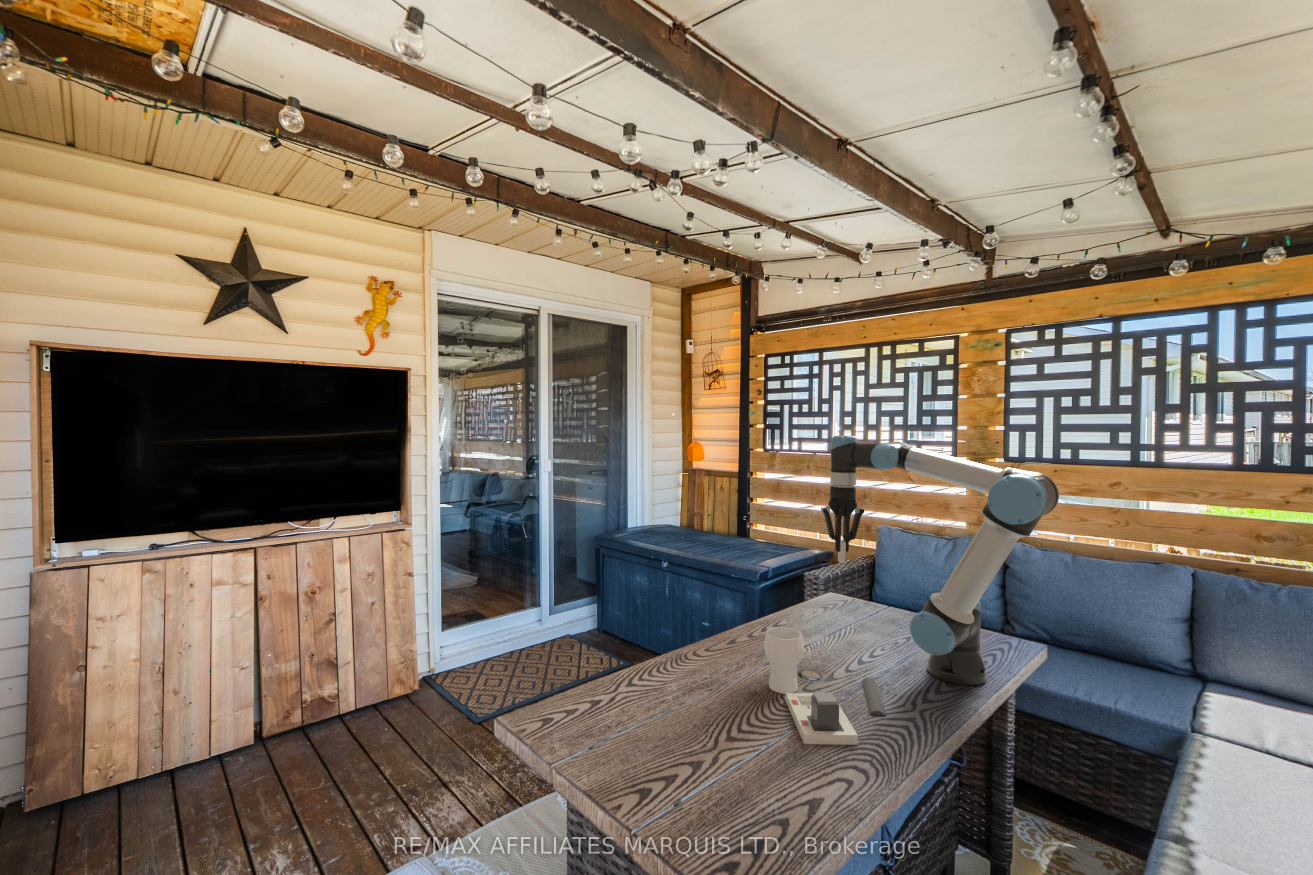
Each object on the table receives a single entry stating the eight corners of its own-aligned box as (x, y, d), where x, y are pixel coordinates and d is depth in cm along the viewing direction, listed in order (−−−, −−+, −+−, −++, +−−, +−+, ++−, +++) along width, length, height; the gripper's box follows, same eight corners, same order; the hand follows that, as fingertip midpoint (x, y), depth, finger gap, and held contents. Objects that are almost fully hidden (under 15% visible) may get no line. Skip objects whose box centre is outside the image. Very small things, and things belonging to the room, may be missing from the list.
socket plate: (832, 701, 153) (832, 693, 153) (857, 744, 133) (857, 734, 133) (785, 701, 153) (785, 692, 153) (804, 743, 133) (804, 733, 133)
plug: (831, 724, 140) (832, 691, 140) (838, 736, 135) (839, 701, 135) (810, 724, 140) (811, 691, 140) (817, 736, 135) (817, 701, 135)
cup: (804, 698, 154) (805, 641, 154) (763, 694, 157) (763, 638, 156) (802, 680, 165) (803, 627, 164) (763, 677, 167) (764, 624, 167)
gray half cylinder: (876, 684, 164) (877, 678, 164) (886, 718, 145) (887, 711, 145) (860, 682, 165) (861, 676, 165) (868, 716, 146) (868, 709, 146)
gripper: (860, 484, 184) (858, 559, 185) (818, 484, 185) (817, 558, 185) (868, 487, 177) (867, 565, 178) (825, 487, 177) (823, 564, 178)
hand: (841, 561), depth 182 cm, fingers closed
